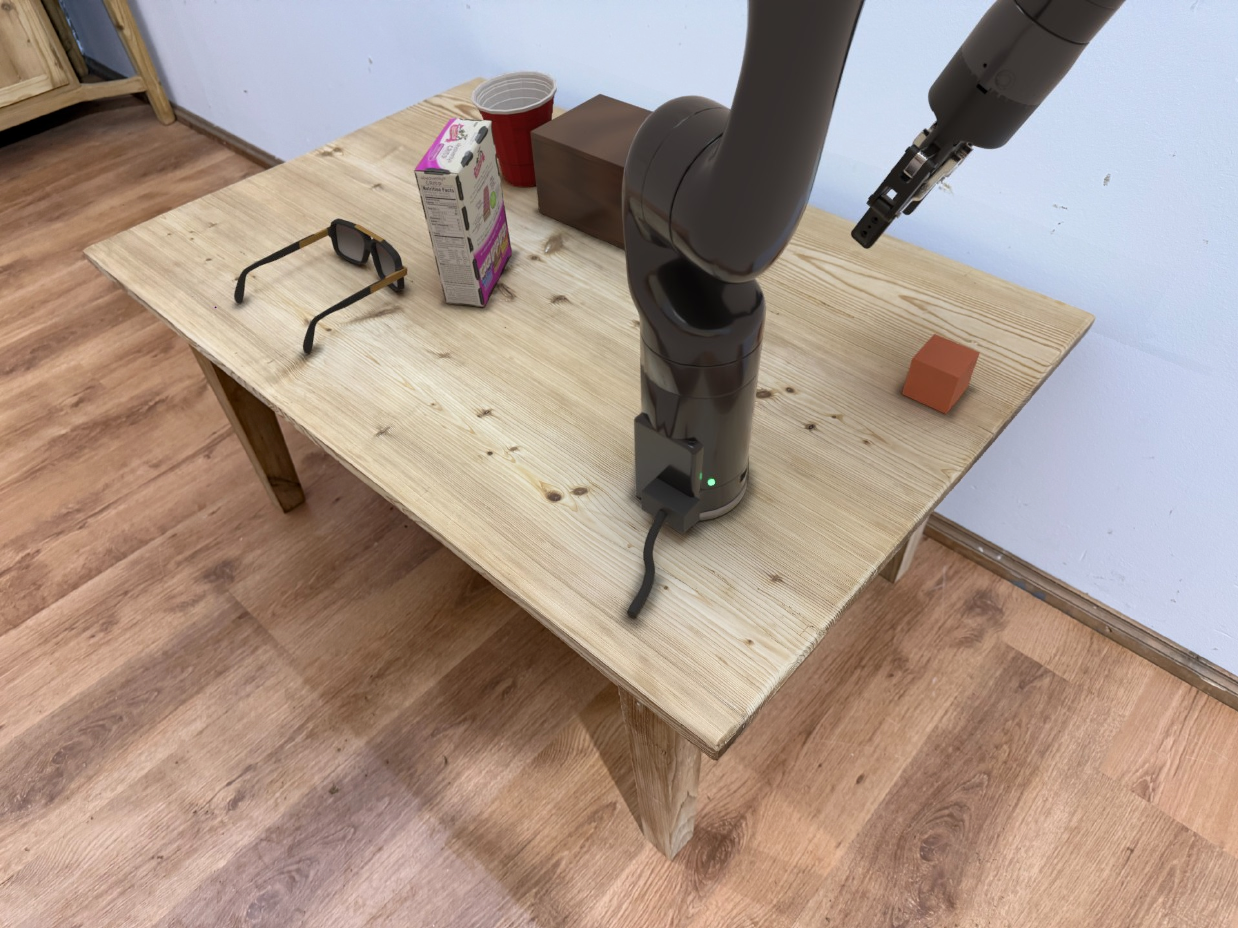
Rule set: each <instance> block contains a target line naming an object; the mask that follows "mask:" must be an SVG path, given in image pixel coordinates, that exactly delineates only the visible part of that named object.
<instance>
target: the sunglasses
mask: <svg viewBox="0 0 1238 928" xmlns="http://www.w3.org/2000/svg"><path fill="white" fill-rule="evenodd" d="M327 237H329V238H330V241H331V245H332V248H333V251H334V252H335V254H337V256H339V257H340V258H341V259H344V260H346V261H348V262H349V263H353V264H355V265H364V264H367V263H368V261H369V259H370V256H371V259H372V261H373V264H374V267H375V271H376V273H377V275H378V277H379V278H380V279H379V280H377V281H375V282H373V283H371V284H369V285H368V286H366V287H364V288H362V289H360V290H359V291H357V292H355V293H353V294H351V295H350V296H347V297H346V298H344V299H342V300H340V301H339V302H337V303H335V304H334V305H331V306H330V307H328V308H327V309H325V310H323V311H321V312H320V313H319V314H317V315H315V316H314V317H313V318H312V319H311V321H310V322H309V325H308V327H307V330H306V333H305V335H304V338H303V342H302V350H303V352H304V353H305V354H306V355H309V354H311V353H312V351H313V346H314V341H315V334H316V326H317V324H318V322H319V321H321V320H322V319H324V318H325V317H327V316H329V315H330V314H334V313H335V312H338V311H340V310H343V309H346V308H347V307H349V306H351V305H353V304H355V303H357V302H359V301H360V300H363V299H365V298H366V297H368V296H370V295H372V294H374V293H376V292H378V291H380V290H381V289H383V288H385V287H387V286H388V287H390V288H391V289H392V290H394V291H395V292H399V291H402V290H404V289H405V277H406V276H407V275H408V267H407V266H405V265H403V263H402V257H401V256H400V253H399V252H398V251H397V249H395V247H394V246H393V245H392V244H390V242H388V241H387V239H385V238H383V237H382V236H379V235H378V234H377V233H374V232H373V231H371V230H369V229H367V228H365V227H364V226H362V225H361V224H357V223H354V222H352V221H350V220H346V219H342V218H335V219H334V220H332V221H331V222H330V225H329V226H327V227H326V228H323V229H321V230H319V231H317V232H315V233H312V234H310V235H307V236H305V237H303V238H301V239H299V240H297V241H295V242H293V243H291V244H289V245H287V246H285V247H283V248H280V249H279V250H277V251H275V252H273V253H271V254H269V255H267V256H265V257H263V258H262V259H259V260H258V261H255V262H254V263H252V264H250V265H249V266H246V267H245V268H244V269H242V271H241V272H240V274H239V276H238V279H237V282H236V285H235V288H234V293H233V298H234V301H235V303H236V304H238V305H239V304H241V303H243V301H244V299H245V290H246V289H245V288H246V280H247V276H248V274H249V273H250V272H252V271H254V270H256V269H257V268H260V267H261V266H264V265H267V264H270V263H272V262H276V261H278V260H281V259H282V258H284V257H286V256H289V255H290V254H293V253H295V252H297V251H299V250H302V249H304V248H306V247H308V246H309V245H310V246H311V245H312V244H314V243H317V242H318V241H320V240H322V239H324V238H327Z"/></svg>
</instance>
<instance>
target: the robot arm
mask: <svg viewBox="0 0 1238 928" xmlns="http://www.w3.org/2000/svg"><path fill="white" fill-rule="evenodd" d="M1126 1H1127V0H995V1H994V2H993V3H992V4H991V6H990V7H989V8H988V9H987V10H986V12H985V13H984V14H983V15H982V17H981V18H980V19H979V21H978V22H977V23H976V24H975V26H974V27H973V29H972V30H971V32H970V33H968V36H967V37H966V38H965V39H964V41H963V42H962V44H961V45H960V46H959V47H958V49H957V51H956V52H955V53H954V55H952V57H951V59H949V62H948V63H947V64H946V66H945V67H944V68H943V70H942V71H941V72H940V74H938V77H936V79H934V80H935V81H933V83H932V84H931V86H930V88H929V89H928V93H927V103H928V105H929V108H930V111H931V112H933V114H934V116H935V119H936V120H935V121H934V122H933V123H932V124H931V125H930V127H929V128H926V127H924V128H923V129H922V130H921V131H920V133H918V135H917V136H916V137H915V138H914V139H913V140H912V143H911V145H910V146H907V148H906V149H905V150H904V153H903V155H902V156H901V157H900V158H899V160H898V161H897V162H896V163H895V164H894V166H893V167H892V168H891V169H890V171H889V172H888V173H887V175H886V177H885V178H884V179H883V180H882V182H881V183H880V184H879V185H878V187H877V188H876V189H875V191H874V192H873V193H871V194H870V195H869V196H868V198H867V201H866V203H865V204H866V205H867V206H868V207H869V208H868V209H867V210H866V212H864V214H863V215H862V217H861V218H860V219H859V221H858V222H857V223H856V224H855V226H854V227H853V228H852V230H851V231H850V236H851V238H852V239H853V240H854V241H855V242H856V243H857V244H859V245H860V246H861V247H862V248H864V249H865V250H869V249H870V248H872V247H873V246H874V245H875V244H876V243H877V242H878V241H879V239H880V238H881V237H882V236H883V234H884V233H885V232H886V230H887V229H889V227H890V226H891V224H892V223H893V222H894V221H895V220H896V219H899V218H900V217H901V216H902V214H903V215H905V216H910V215H911V214H913V213H914V212H915V210H917V208H918V207H919V206H920V204H922V202H923V201H924V200H925V199H926V198H927V197H928V195H929V194H930V192H931V191H932V190H933V189H934V188H935V187H936V185H939V184H940V183H943V182H944V181H945V179H946V178H949V177H951V175H953V173H954V172H955V171H956V170H957V169H958V168H959V167H960V166H961V165H962V164H963V163H964V162H965V161H966V160H967V159H968V158H969V157H970V156H971V155H972V153H973V152H974V148H973V147H976V148H979V149H984V150H995V149H996V150H997V149H1000V148H1002V147H1004V146H1005V145H1007V143H1009V142H1010V140H1011V139H1012V138H1013V137H1014V136H1015V134H1016V133H1017V132H1018V131H1019V130H1020V128H1021V127H1022V126H1023V125H1024V124H1025V123H1026V122H1027V121H1028V119H1029V118H1030V117H1031V116H1032V115H1033V114H1034V113H1035V111H1037V109H1038V108H1039V107H1041V104H1043V102H1044V101H1045V100H1046V99H1047V98H1048V96H1049V95H1050V94H1051V93H1052V92H1053V91H1054V90H1055V89H1056V88H1057V86H1058V85H1059V84H1060V83H1061V82H1062V80H1064V78H1065V77H1066V76H1067V75H1068V74H1069V72H1070V71H1071V70H1072V68H1073V67H1074V66H1075V64H1076V62H1077V61H1078V59H1079V58H1080V56H1081V55H1082V54H1083V52H1084V50H1085V49H1086V48H1087V47H1088V46H1089V44H1090V43H1091V42H1092V41H1093V40H1094V39H1095V37H1096V36H1098V34H1099V33H1100V32H1101V30H1102V29H1104V27H1105V26H1106V24H1108V22H1109V21H1110V20H1111V19H1112V17H1113V16H1115V14H1116V13H1117V12H1118V11H1119V10H1120V8H1122V6H1123V5H1124V4H1125V3H1126ZM866 2H867V0H746V5H747V6H746V31H745V41H744V49H743V55H742V60H741V66H740V71H739V75H738V79H737V83H736V87H735V91H734V95H733V99H732V102H731V106H730V108H729V107H727V106H726V105H724V104H722V103H720V102H718V101H716V100H714V99H712V98H708V97H705V96H702V95H693V94H691V95H681V96H678V97H675V98H672V99H670V100H667V101H666V102H664V103H662V104H661V105H660V106H658V107H657V108H655V110H653V112H652V113H651V114H650V115H649V116H648V117H647V118H646V120H645V121H644V122H643V124H642V125H641V126H640V128H639V130H638V131H637V133H636V135H635V137H634V139H633V141H632V144H631V146H630V148H629V151H628V154H627V158H626V162H625V167H624V172H623V180H622V219H623V232H624V245H625V250H624V256H625V268H626V279H627V286H628V291H629V294H630V297H631V300H632V302H633V305H634V307H635V309H636V311H637V314H638V317H639V360H640V361H639V370H640V371H639V374H640V378H639V379H640V413H639V414H637V415H636V416H635V417H634V418H633V439H634V440H633V444H634V445H633V446H634V447H633V448H634V449H633V450H634V451H633V452H634V489H635V490H634V491H635V492H634V493H635V496H636V497H638V498H639V499H640V500H641V510H642V511H643V512H646V513H647V514H649V515H651V516H652V517H654V519H653V521H652V523H651V525H650V527H649V528H648V529H649V530H648V532H647V534H646V537H645V541H644V544H643V549H642V558H643V565H644V575H643V580H642V583H641V586H640V588H639V590H638V592H637V593H636V595H635V597H634V599H633V600H632V601H631V604H630V605H629V607H628V609H627V611H626V614H627V616H628V617H630V618H636V617H637V616H638V614H639V611H640V610H641V609H642V606H643V605H644V603H645V602H646V600H647V598H648V596H649V594H650V592H651V589H652V588H653V583H654V580H655V573H656V567H655V561H654V548H655V544H656V540H657V537H658V535H659V532H660V530H661V528H662V527H663V524H666V525H667V526H668V527H670V528H671V529H673V530H674V531H677V532H679V533H680V534H682V535H684V534H685V533H686V532H687V531H688V530H689V529H690V528H693V527H694V526H695V525H696V524H697V523H698V522H700V521H707V520H712V519H715V518H718V517H721V516H723V515H725V514H727V513H729V512H730V511H732V510H733V509H734V508H735V507H737V506H738V505H739V503H740V502H741V501H742V500H743V498H744V495H745V493H746V490H747V488H748V484H749V483H748V478H749V475H750V474H749V471H750V449H751V441H752V433H753V432H752V431H753V422H754V414H755V407H756V398H757V389H758V381H759V375H760V374H759V373H760V365H761V358H762V349H763V340H764V334H765V326H766V319H767V302H766V301H767V300H766V297H765V294H764V291H763V289H762V287H761V285H760V283H759V282H758V280H757V279H756V278H759V277H760V276H762V275H764V273H766V271H768V270H769V269H770V268H771V267H772V266H773V265H774V264H775V263H776V262H777V261H778V259H779V258H780V257H781V256H782V255H783V253H784V252H785V250H786V249H787V247H788V245H789V244H790V243H791V241H792V239H793V237H794V236H795V234H796V232H797V229H798V228H799V225H800V223H801V221H802V218H803V217H804V214H805V212H806V209H807V207H808V204H809V201H810V198H811V195H812V192H813V189H814V185H815V181H816V178H817V174H818V171H819V167H820V163H821V160H822V156H823V152H824V148H825V145H826V141H827V137H828V133H829V129H830V125H831V122H832V119H833V113H834V110H835V106H836V103H837V99H838V95H839V91H840V87H841V84H842V80H843V77H844V74H845V69H846V66H847V62H848V58H849V55H850V52H851V48H852V45H853V42H854V38H855V35H856V32H857V29H858V25H859V23H860V20H861V17H862V13H863V10H864V8H865V5H866ZM891 190H892V191H894V193H896V194H895V195H894V197H893V198H891V197H890V196H889V195H888V194H889V193H890V192H891Z"/></svg>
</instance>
